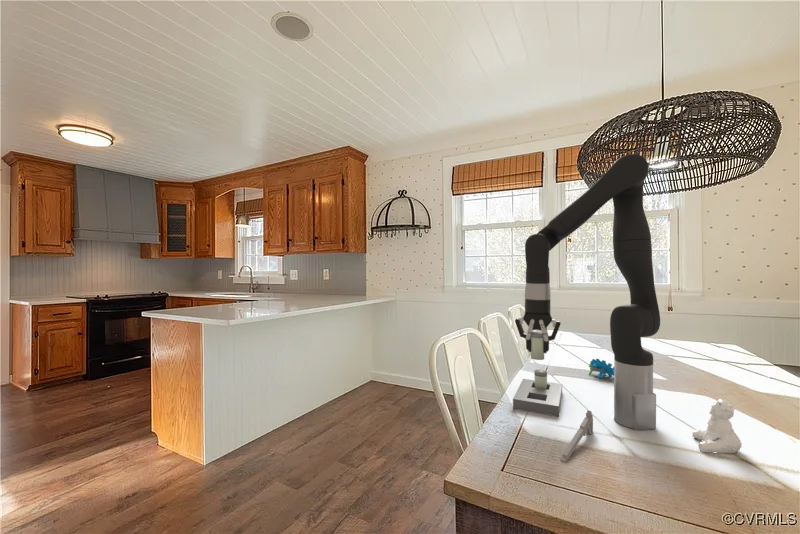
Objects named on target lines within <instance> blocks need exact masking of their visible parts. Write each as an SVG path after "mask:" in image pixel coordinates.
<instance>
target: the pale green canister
mask: <svg viewBox="0 0 800 534" xmlns="http://www.w3.org/2000/svg"><path fill="white" fill-rule="evenodd" d="M530 358H531V359H532V360H535V361H536V360H537V361H544V360H545V353H544V337H543V334H542V331H541V332H540V331H532V333H531V352H530Z"/></svg>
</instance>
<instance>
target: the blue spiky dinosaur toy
mask: <svg viewBox="0 0 800 534" xmlns="http://www.w3.org/2000/svg"><path fill="white" fill-rule="evenodd" d="M612 366H613V364H612V363H610V362H608V363H607V361H606V360H604V359H602V360H601V359H599V358H592V359H591V361H590V362H589V364H588V367H589V370H590V371H589V372H588V375H589V376H591V375H592V373H593V372H597V373H599V374H598V375H597V378H598V379H601V377H602V376H603V375H605V376H606V375H607V376H608V377H614V366H613V367H612Z"/></svg>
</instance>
